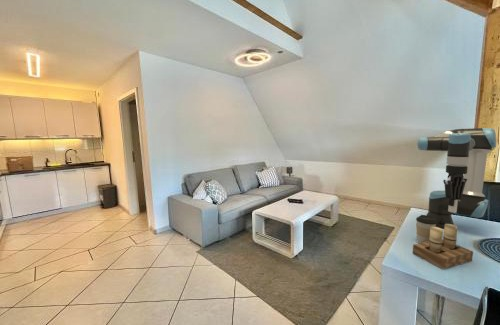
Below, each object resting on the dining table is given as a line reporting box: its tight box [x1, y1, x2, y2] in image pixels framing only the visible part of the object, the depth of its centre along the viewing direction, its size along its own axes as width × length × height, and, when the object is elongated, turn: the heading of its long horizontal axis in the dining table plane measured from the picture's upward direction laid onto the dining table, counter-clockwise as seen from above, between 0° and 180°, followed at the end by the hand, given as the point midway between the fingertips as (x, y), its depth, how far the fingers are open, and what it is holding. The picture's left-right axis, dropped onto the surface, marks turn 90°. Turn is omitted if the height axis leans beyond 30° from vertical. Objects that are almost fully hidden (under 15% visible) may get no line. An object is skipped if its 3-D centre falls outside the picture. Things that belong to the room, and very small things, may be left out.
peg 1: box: [429, 227, 444, 254], centre depth 105 cm, size 5×5×12 cm
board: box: [412, 239, 474, 270], centre depth 107 cm, size 20×14×5 cm
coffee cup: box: [415, 214, 437, 243], centre depth 122 cm, size 9×9×15 cm
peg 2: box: [443, 224, 459, 250], centre depth 108 cm, size 5×5×12 cm
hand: (452, 211), depth 106 cm, fingers closed
